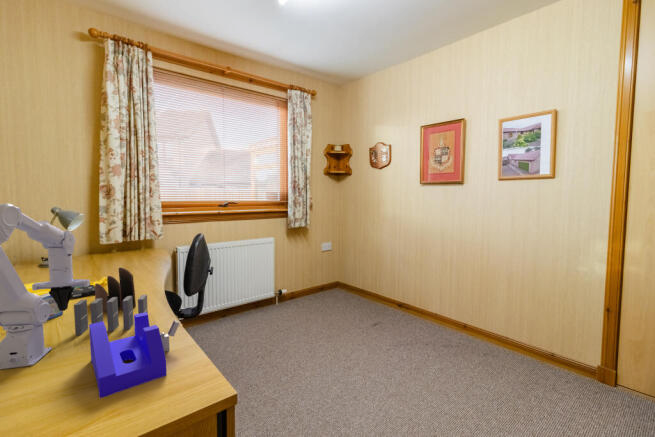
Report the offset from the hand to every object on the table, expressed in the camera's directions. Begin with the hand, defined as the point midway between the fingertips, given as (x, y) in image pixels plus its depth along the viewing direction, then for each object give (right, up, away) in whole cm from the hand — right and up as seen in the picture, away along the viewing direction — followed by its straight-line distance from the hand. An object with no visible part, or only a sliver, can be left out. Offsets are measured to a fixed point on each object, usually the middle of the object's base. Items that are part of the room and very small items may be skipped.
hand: (63, 309), depth 101 cm
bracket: (+33, -10, -19) cm, 39 cm away
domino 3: (+13, -8, +5) cm, 16 cm away
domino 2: (+9, -8, +3) cm, 12 cm away
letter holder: (-2, -6, +28) cm, 29 cm away
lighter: (+38, -9, -9) cm, 40 cm away
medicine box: (-17, -7, +13) cm, 23 cm away
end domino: (+22, -8, +7) cm, 24 cm away
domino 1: (+4, -8, +2) cm, 9 cm away
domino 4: (+17, -8, +6) cm, 20 cm away
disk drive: (-27, -5, +42) cm, 50 cm away
